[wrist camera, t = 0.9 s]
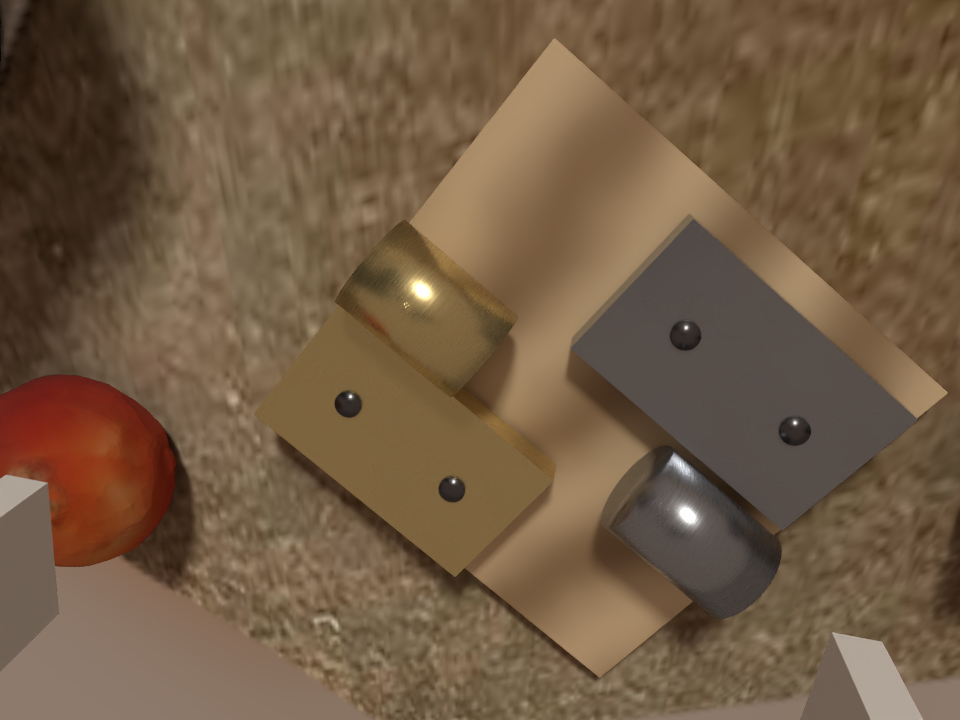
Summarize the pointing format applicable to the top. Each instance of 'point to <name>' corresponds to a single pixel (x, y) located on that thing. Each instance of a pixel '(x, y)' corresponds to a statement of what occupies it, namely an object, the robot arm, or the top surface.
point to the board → (570, 304)
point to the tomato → (88, 463)
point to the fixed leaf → (727, 415)
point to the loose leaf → (412, 402)
